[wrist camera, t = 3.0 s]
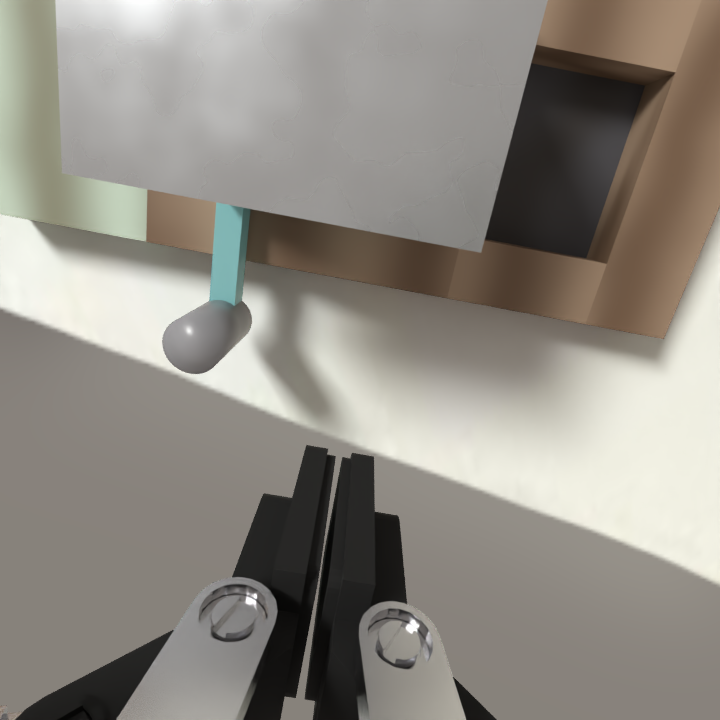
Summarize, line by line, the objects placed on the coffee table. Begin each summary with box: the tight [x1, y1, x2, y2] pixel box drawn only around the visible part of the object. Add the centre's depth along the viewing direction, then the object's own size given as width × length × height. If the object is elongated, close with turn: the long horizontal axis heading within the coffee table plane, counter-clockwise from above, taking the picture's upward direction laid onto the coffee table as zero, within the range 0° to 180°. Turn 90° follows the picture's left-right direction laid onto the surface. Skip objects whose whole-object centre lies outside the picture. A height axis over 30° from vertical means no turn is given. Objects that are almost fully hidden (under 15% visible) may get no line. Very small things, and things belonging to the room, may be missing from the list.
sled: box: [162, 202, 252, 374], centre depth 19 cm, size 9×15×5 cm, turn 170°
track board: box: [0, 0, 720, 339], centre depth 21 cm, size 34×14×2 cm, turn 80°
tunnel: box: [55, 0, 548, 253], centre depth 15 cm, size 12×10×9 cm
